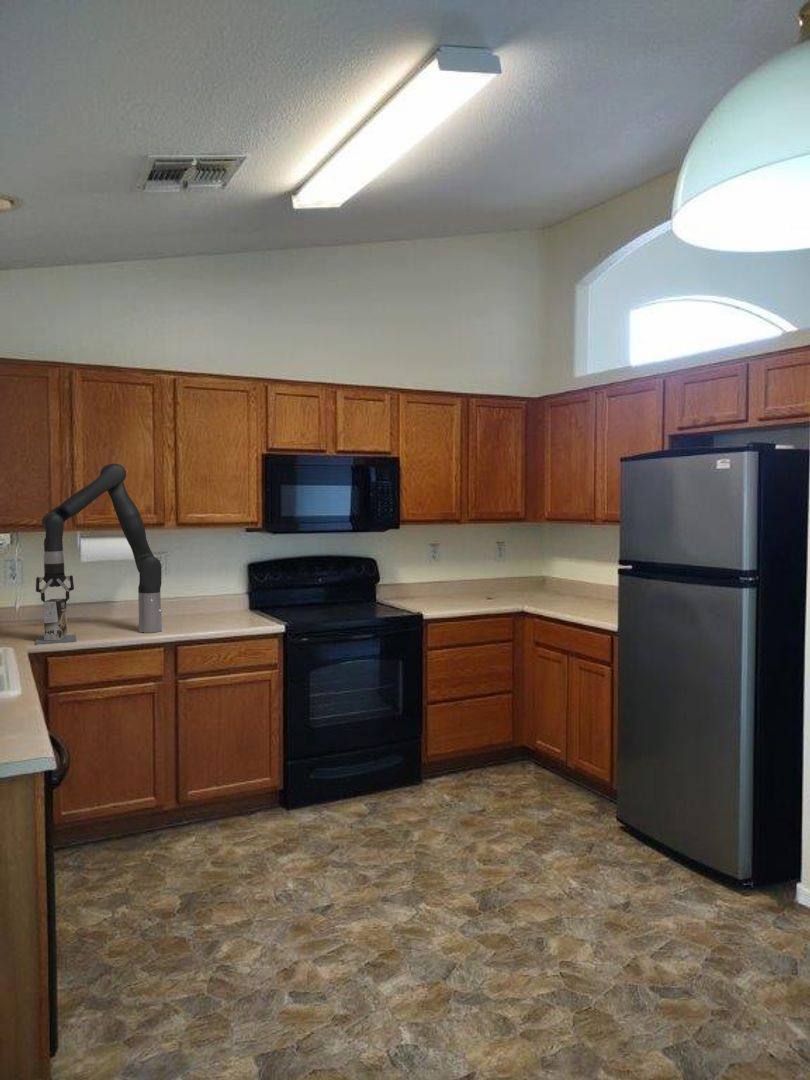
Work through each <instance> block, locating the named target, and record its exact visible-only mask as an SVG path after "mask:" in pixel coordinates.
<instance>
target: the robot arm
mask: <svg viewBox="0 0 810 1080" xmlns="http://www.w3.org/2000/svg"><path fill="white" fill-rule="evenodd" d="M126 477H127V470H126V467H124V466H123V465H122V464H120V463H109V464H105V465H104V466H103V467H102V468H101V469H100V472H99V476H97V478H95V479H94V480H93V481H92V482H91V483H89V484H87V485H86V486H85V487H83V488H81V489H80V490H78V491H77V492H75V493H73V494H72V495H71V496H70V497H68V498H67V499H65V500H64V501H63V502H62V503H61V504H59V506H56V507H55V508H53V509H51V510H50V511H49V512H46V514H45V515H43V517H42V518H41V526H42V527H43V528H44V529H45V537H44V540H43V550H44V551H43V552H44V553H43V571H44V576H42V577H41V576H37V577H36V578H35V592H37V593H40V600H41V602H43V603H44V601H46V591H47V589H48V588H49V587H50V588H60V587H61V588H63V589H64V590H65V599H66V602H68V600H70V592H71V591H74V590H75V586H74V576H73V575H71V574H70V575H65V555H64V547H63V546H64V543H63V542H64V541H63V537H64V528H65V527H64V523H65V522H66V521H68V520H69V519H70V518H73V517H74V516H77V515H78V514H79V513H80V512H81V511H83V510H84V509H85V508H87V507H88V506H89V505H90V504H91V503H93V501H95V500H96V499H98V498H99V497H101V496H102V495H103V494H104V493H106V492H107V493H108V495H109V497H110V499H111V503H112V505H113V510H114V512H115V515H116V518H117V520H118V522H119V525H120V527H121V530H122V532H123V535H124V537H125V539H126V541H127V543H128V545H129V546H130V548H131V552H132V554H133V555H132V556H133V559H134V563H135V567H136V569H137V571H138V573H139V574H138V575H139V582H138V587H137V589H138V591H137V593H138V598H137V599H138V632H139V633H142V632H144V633H143V634H145V633H150V634H152V633H159V632H162V630H163V629H162V626H163V625H162V624H163V623H162V622H163V621H162V609H161V607H162V605H161V597H162V596H161V587H162V575H163V574H162V570H163V569H162V564H161V560H159V558H157V557H156V556H155V555H154V554H153V552H152V550H151V548H150V545H149V543H148V539H147V533H146V528H145V523H144V520H143V518H142V515H141V513H140V510H139V509H138V507H137V506H136V504H135V502H134V501H133V499H132V498H131V497H130V495H129V493H128V491H127V488H126V486H125V483H124V482H125V480H126ZM66 580H67V581H68V582H70V583H69V585H70V587H68V586H67V585H66V584H65V581H66ZM42 581H44V582H45V584H44V586H43V588H40V583H42Z"/></svg>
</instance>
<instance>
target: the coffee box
mask: <svg viewBox="0 0 810 1080" xmlns="http://www.w3.org/2000/svg"><path fill="white" fill-rule="evenodd" d="M67 612H68V611H67V601H66V598H50V599H47V600H45V601H44V602H43V629H44V631H43V633H44V635H43V637H44V640H45V641H52V640H55V641H59V640H61V639H63V638H65V637H67V635H68V619H67V617H68V615H67V614H68V613H67Z"/></svg>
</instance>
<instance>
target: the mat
mask: <svg viewBox="0 0 810 1080" xmlns="http://www.w3.org/2000/svg"><path fill="white" fill-rule="evenodd" d="M76 642H77V635H76V634H67V637H65V638H63V639H61V640H59V641H55V640H52V641H45V640H44V636H37V637H36V640H35V645H47V644H61V643H62V644H64V643H66V644H67V643H76Z"/></svg>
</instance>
